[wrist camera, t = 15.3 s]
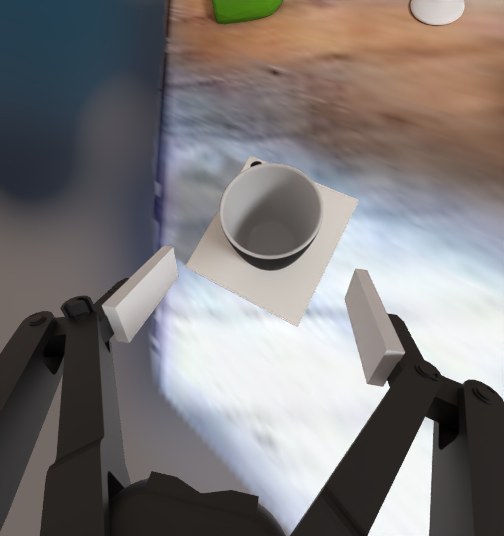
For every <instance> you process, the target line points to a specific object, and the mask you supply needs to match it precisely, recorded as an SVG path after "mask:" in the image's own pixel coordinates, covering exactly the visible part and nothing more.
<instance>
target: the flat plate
mask: <svg viewBox="0 0 504 536" xmlns="http://www.w3.org/2000/svg"><path fill="white" fill-rule="evenodd" d="M255 161H260V162H261V163H262V164H264V163H267V162H265V161H263V160H260V159H258V158H255V157H253V156H250V157H249V159H248V160H247V162H246V164H245V165H244V167H243V169H242V170H241V172H243V171H244V170H246V169H248V168H250V165H251V163H253V162H255ZM241 172H240V173H241ZM313 182H314V181H313ZM314 183H315V185H316V186H317V188H318V190H319V192H320V194H321V197H322V201H323V219H322V223H321V227H320V229H319V231H318V234H317V235H316V237H315V239H314V241H313V242H312V243H311V245H310V246H309V248H308V249H307V250H306V251H305V252H304V254H303V255H302V256H301V257H300V258H299V259H298V260H296V261H295V262H294V263H292V264H291V265H289V266H287V267H285V268H283V269H280V270H275V271H266V270H261V269H258V268H256V267H254V266H252V265H250V264H249V263H248V262H246V261H245V260H244V259H243V258H242V257H241V256H240V255H239V254H238V253H237V252H236V251H235V250H234V248H233V247H232V246H231V244H230V243H229V241H228V240H227V238H226V236H225V234H224V232H223V229H222V227H221V223H220V217H219V210H218V211H217V213H216V215H215V217H214V218H213V220H212V222H211V223H210V225H209V227H208V228H207V230H206V232H205V234H204V235H203V237H202V239H201V240H200V242H199V244H198V245H197V247H196V249H195V251H194V252H193V254H192V256H191V257H190V259H189V261H188V263H187V264H186V266H185V267H187V268H189V269H190V270H192V271H194V272H196V273H197V274H199V275H201V276H203V277H205V278H207V279H209V280H210V281H212V282H214V283H216V284H218V285H220V286H222V287H224V288H225V289H227V290H229V291H231V292H233V293H235V294H237V295H238V296H240V297H242V298H244V299H246V300H248V301H250V302H252V303H253V304H255V305H257V306H259V307H261V308H263V309H265V310H266V311H268V312H270V313H272V314H274V315H276V316H278V317H280V318H281V319H283V320H285V321H287V322H289V323H291V324H293V325H295V326H297V327H298V325H299V323H300V321H301V319H302V317H303V315H304V313H305V311H306V309H307V307H308V305H309V302H310V300H311V298H312V296H313V294H314V292H315V290H316V288H317V286H318V284H319V282H320V280H321V278H322V276H323V274H324V272H325V269H326V267H327V265H328V263H329V261H330V259H331V257H332V255H333V253H334V251H335V249H336V247H337V245H338V243H339V241H340V239H341V236H342V234H343V232H344V230H345V228H346V226H347V224H348V222H349V220H350V218H351V216H352V214H353V212H354V210H355V208H356V206H357V203H358V201H359V200H357V199H355V198H352V197H350V196H347V195H345V194H343V193H340V192H338V191H335V190H333V189H331V188H328V187H326V186H323V185H321V184H318V183H316V182H314Z"/></svg>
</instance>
